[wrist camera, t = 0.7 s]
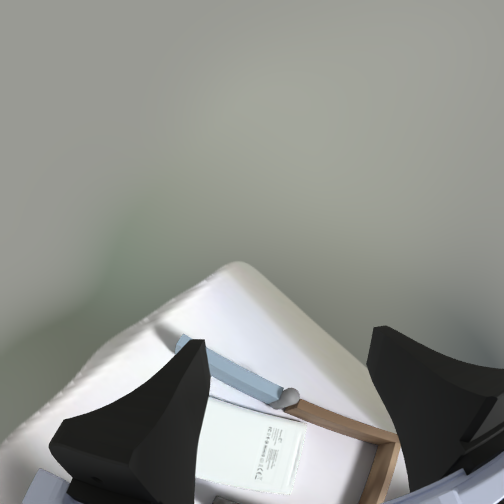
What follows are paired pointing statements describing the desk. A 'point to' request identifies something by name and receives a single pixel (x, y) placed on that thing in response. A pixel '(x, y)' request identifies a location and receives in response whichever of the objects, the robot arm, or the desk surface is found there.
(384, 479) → the bay
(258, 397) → the gate
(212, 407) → the external hard drive
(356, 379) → the desk surface
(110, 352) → the desk surface
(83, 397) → the desk surface
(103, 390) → the desk surface
